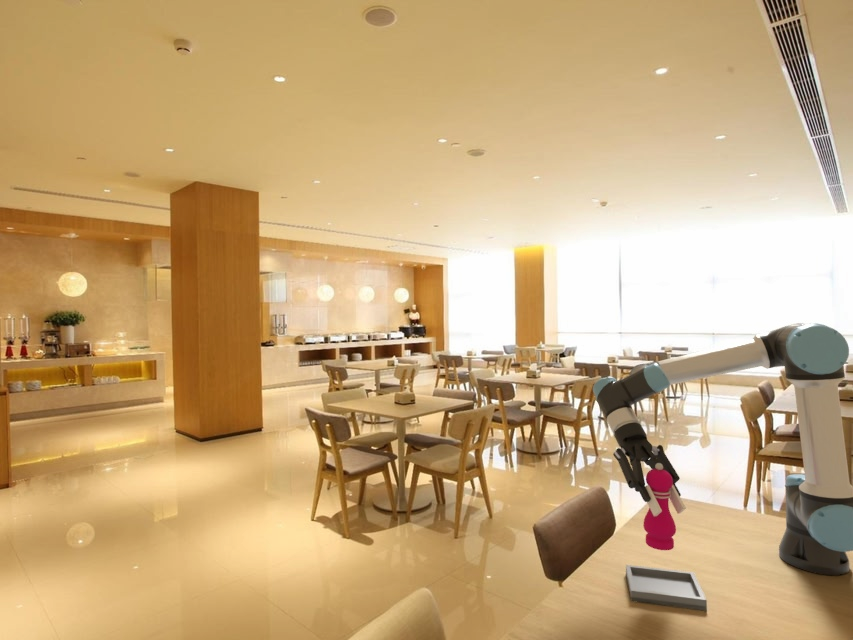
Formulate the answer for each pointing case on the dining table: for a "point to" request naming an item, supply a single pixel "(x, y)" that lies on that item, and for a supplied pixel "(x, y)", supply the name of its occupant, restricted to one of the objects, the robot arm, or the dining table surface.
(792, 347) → the robot arm
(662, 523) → the pepper mill
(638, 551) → the dining table surface
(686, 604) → the tray
